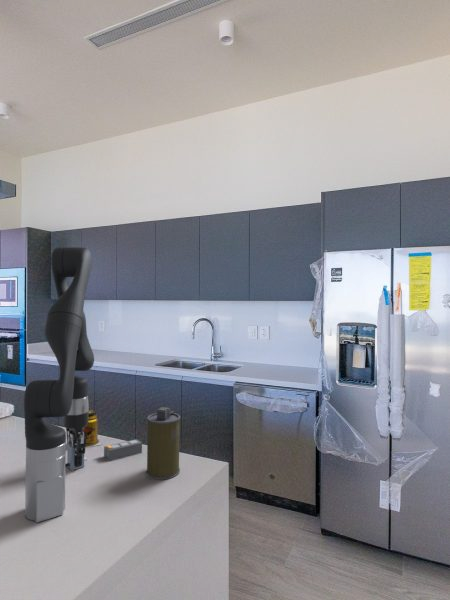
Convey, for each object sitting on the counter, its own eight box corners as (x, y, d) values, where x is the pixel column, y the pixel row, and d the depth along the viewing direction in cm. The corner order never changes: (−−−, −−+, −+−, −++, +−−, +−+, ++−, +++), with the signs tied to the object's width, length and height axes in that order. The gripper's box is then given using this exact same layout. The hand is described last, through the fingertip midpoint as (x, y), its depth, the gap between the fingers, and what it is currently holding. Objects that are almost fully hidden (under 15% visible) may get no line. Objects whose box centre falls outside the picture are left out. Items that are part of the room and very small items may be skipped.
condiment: (80, 448, 138) (81, 415, 138) (76, 441, 145) (76, 409, 145) (101, 445, 142) (101, 412, 142) (96, 437, 149) (96, 407, 149)
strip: (141, 452, 135) (142, 441, 135) (108, 461, 128) (108, 449, 128) (136, 448, 138) (136, 437, 138) (103, 456, 131) (104, 445, 131)
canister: (170, 482, 113) (171, 414, 113) (139, 476, 117) (140, 411, 117) (185, 467, 124) (186, 405, 124) (157, 462, 127) (157, 402, 127)
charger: (87, 465, 123) (88, 444, 123) (56, 473, 117) (56, 451, 117) (83, 461, 127) (83, 440, 127) (52, 468, 121) (53, 446, 121)
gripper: (95, 413, 120) (94, 468, 120) (81, 403, 131) (80, 453, 131) (70, 418, 115) (69, 474, 115) (58, 407, 127) (57, 458, 127)
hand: (75, 463), depth 123 cm, fingers closed on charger, 4 cm apart
